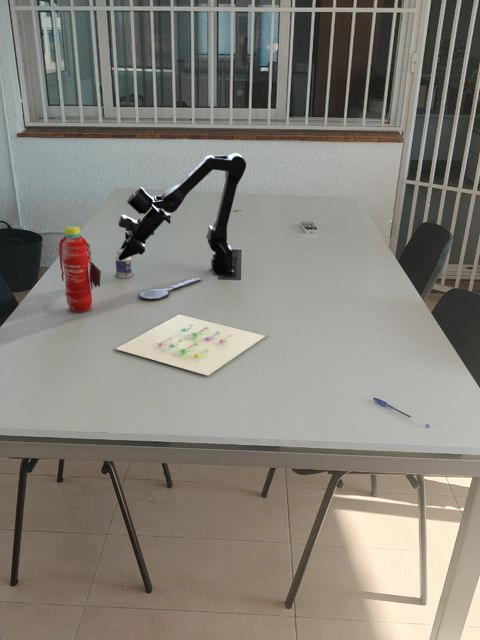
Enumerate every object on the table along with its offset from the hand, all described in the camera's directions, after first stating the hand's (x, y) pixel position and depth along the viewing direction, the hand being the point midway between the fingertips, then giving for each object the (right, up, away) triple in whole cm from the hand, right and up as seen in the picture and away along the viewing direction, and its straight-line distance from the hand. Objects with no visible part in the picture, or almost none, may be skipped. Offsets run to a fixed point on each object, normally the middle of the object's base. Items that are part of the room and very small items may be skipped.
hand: (118, 257), depth 240 cm
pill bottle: (+1, -6, +4) cm, 7 cm away
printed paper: (+27, -35, -46) cm, 64 cm away
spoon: (+19, -13, -8) cm, 24 cm away
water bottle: (-7, -22, -24) cm, 33 cm away
